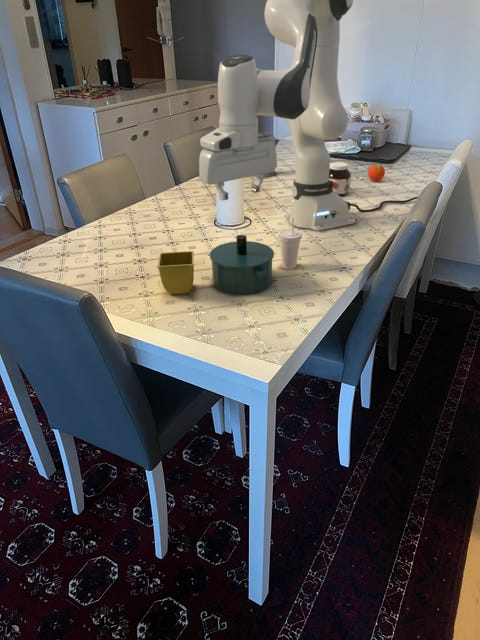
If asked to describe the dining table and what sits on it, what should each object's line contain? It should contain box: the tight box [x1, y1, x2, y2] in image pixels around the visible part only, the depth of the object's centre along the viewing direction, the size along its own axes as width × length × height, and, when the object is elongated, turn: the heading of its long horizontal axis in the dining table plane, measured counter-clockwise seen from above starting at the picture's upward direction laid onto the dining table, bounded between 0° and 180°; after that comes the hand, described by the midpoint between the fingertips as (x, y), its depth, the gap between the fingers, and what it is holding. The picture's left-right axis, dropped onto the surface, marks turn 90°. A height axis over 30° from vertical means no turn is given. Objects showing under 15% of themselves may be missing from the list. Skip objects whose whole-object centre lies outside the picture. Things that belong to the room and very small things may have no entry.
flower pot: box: [157, 250, 195, 295], centre depth 125 cm, size 9×9×9 cm
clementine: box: [367, 164, 386, 182], centre depth 207 cm, size 8×7×7 cm
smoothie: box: [277, 218, 303, 270], centre depth 135 cm, size 6×6×14 cm
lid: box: [209, 234, 275, 269], centre depth 126 cm, size 17×17×6 cm
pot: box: [211, 259, 273, 296], centre depth 129 cm, size 16×21×8 cm
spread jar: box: [329, 161, 352, 198], centre depth 193 cm, size 12×11×12 cm
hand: (240, 195), depth 119 cm, fingers open, 8 cm apart
